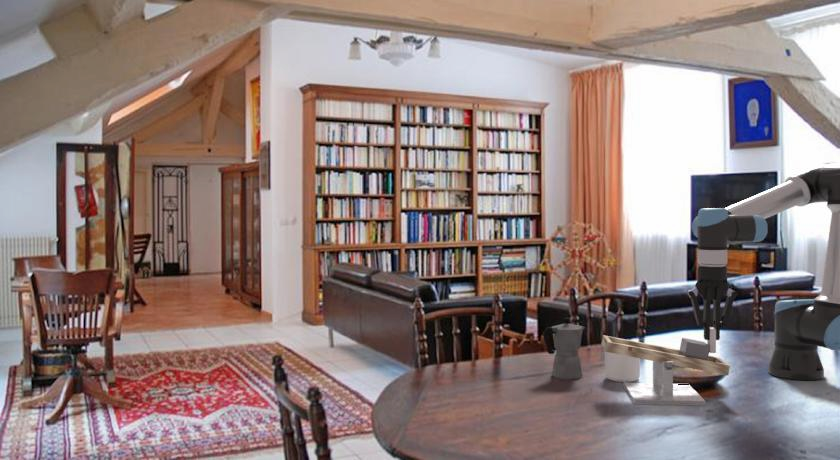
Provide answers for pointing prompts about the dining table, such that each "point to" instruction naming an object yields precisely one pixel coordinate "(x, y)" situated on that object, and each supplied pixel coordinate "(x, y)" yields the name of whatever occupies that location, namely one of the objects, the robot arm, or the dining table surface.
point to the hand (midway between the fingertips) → (711, 351)
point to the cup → (621, 367)
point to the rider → (694, 349)
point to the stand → (663, 389)
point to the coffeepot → (565, 349)
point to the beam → (663, 355)
